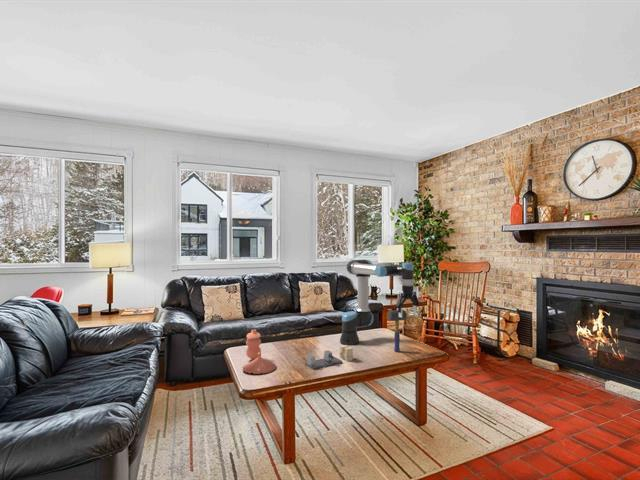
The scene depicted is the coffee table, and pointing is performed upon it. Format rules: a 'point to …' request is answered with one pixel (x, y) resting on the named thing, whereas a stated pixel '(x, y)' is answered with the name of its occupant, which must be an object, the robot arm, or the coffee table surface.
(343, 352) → the block
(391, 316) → the rubber mallet
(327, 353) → the jaw slide
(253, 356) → the ceramic vessels
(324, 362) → the vise
